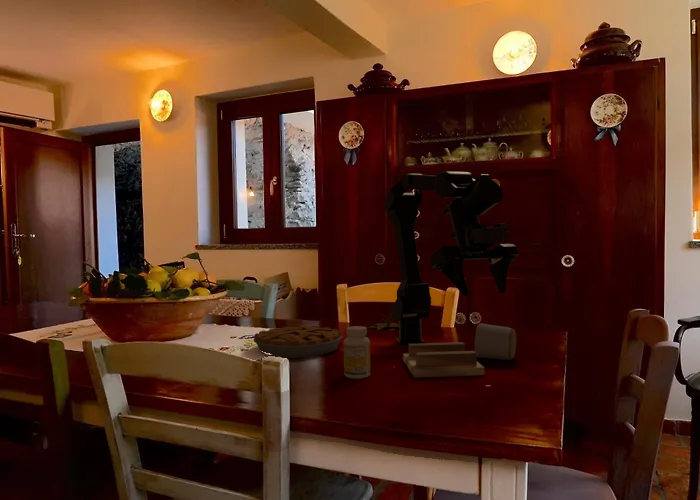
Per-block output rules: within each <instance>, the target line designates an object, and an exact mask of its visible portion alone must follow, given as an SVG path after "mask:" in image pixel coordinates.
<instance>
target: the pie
mask: <svg viewBox="0 0 700 500" xmlns="http://www.w3.org/2000/svg"><path fill="white" fill-rule="evenodd" d="M342 339H343V335H342V334H341V331H339V330H338V329H336V328H332V329H331V328H330V327H327V326H324V327H319V325H312V326H309V325H303V324H300V325H296V326H290V325H286V326H282V327H281V328H276V327H275V328H270V329H269V330H260V331H259V332H258V333H257V332H256V333H255V334H254V337H253V343H255V344H256V345H257V347H258V349H259V351H260V350H261V351H263V352H266V353H270V354H274V355H275V356H281V357H280V358H282V357H285V358H284V359H296V358H297V359H298V358H300V359H301V358H311V357H315V356H321V355H325V354H329V353H332V352H334V351H336V350H337V349H338V346H339V344H340V342H341V340H342ZM261 351H260V352H261Z"/></svg>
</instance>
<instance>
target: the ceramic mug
mask: <svg viewBox="0 0 700 500" xmlns="http://www.w3.org/2000/svg"><path fill="white" fill-rule="evenodd" d="M516 349H517V333H516V330H515V329H514V328H511V327H508V326H503V325H502V326H501V325H494V324H488V323H487V324H486V323H481V322H480V323H478V325H477V327H476V329H475V335H474V351H475V352H476V353H477V358H479V359H487V360H488V359H489V360H499V361H510V360H511V361H512V360H513V359H514V358H515V355H516Z"/></svg>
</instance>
